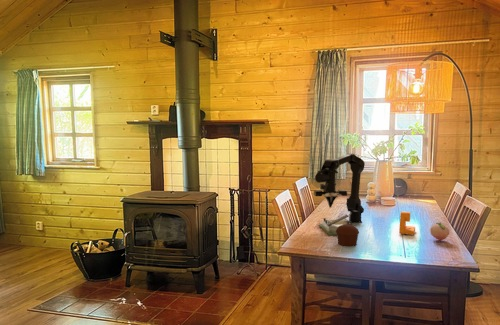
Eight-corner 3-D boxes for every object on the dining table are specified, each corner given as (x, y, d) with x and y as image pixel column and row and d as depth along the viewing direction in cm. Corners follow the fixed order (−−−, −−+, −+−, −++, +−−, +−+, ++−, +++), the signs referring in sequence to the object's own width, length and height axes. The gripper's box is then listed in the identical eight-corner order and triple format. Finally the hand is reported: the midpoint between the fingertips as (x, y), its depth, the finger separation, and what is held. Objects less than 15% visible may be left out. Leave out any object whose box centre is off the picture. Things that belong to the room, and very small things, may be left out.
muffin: (355, 240, 197) (355, 222, 196) (362, 247, 186) (362, 227, 185) (332, 241, 196) (333, 222, 196) (338, 247, 185) (338, 228, 184)
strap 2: (346, 220, 224) (346, 218, 224) (347, 221, 221) (347, 219, 221) (325, 221, 223) (325, 219, 223) (326, 222, 220) (326, 220, 220)
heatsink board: (344, 224, 230) (344, 215, 229) (357, 235, 207) (357, 225, 207) (319, 225, 229) (319, 216, 228) (329, 235, 206) (329, 225, 206)
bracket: (413, 236, 204) (414, 214, 203) (399, 234, 207) (399, 213, 206) (415, 231, 213) (415, 210, 212) (401, 229, 217) (402, 209, 216)
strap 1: (328, 226, 211) (327, 224, 211) (327, 225, 214) (326, 223, 214) (348, 216, 212) (347, 214, 212) (347, 215, 214) (346, 213, 214)
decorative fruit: (426, 238, 199) (427, 220, 198) (441, 238, 200) (441, 219, 199) (436, 243, 190) (437, 224, 189) (451, 243, 191) (452, 224, 190)
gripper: (341, 179, 228) (341, 204, 230) (311, 179, 227) (311, 205, 229) (347, 181, 217) (347, 208, 219) (316, 182, 216) (315, 208, 218)
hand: (330, 207), depth 221 cm, fingers closed
